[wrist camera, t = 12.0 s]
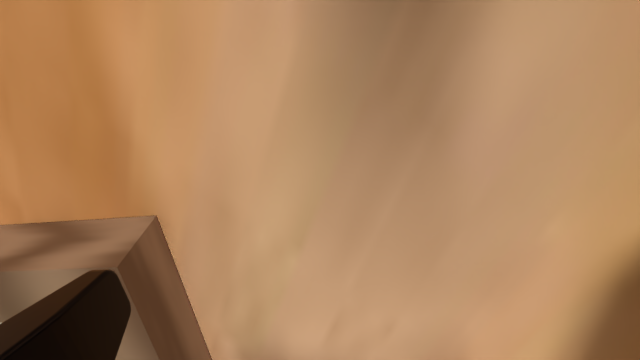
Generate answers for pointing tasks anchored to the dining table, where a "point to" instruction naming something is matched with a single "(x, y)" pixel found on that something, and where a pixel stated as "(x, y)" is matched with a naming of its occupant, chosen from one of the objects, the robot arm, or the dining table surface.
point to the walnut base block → (105, 253)
